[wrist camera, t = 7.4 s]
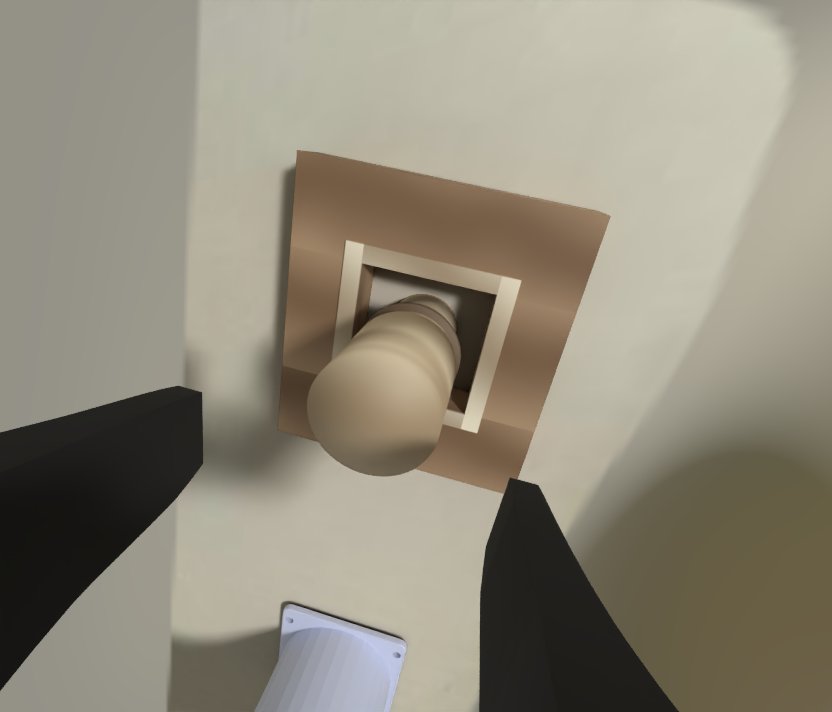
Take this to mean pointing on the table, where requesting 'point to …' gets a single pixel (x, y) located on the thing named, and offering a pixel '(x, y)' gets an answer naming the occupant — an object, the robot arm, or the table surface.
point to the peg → (388, 388)
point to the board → (446, 262)
